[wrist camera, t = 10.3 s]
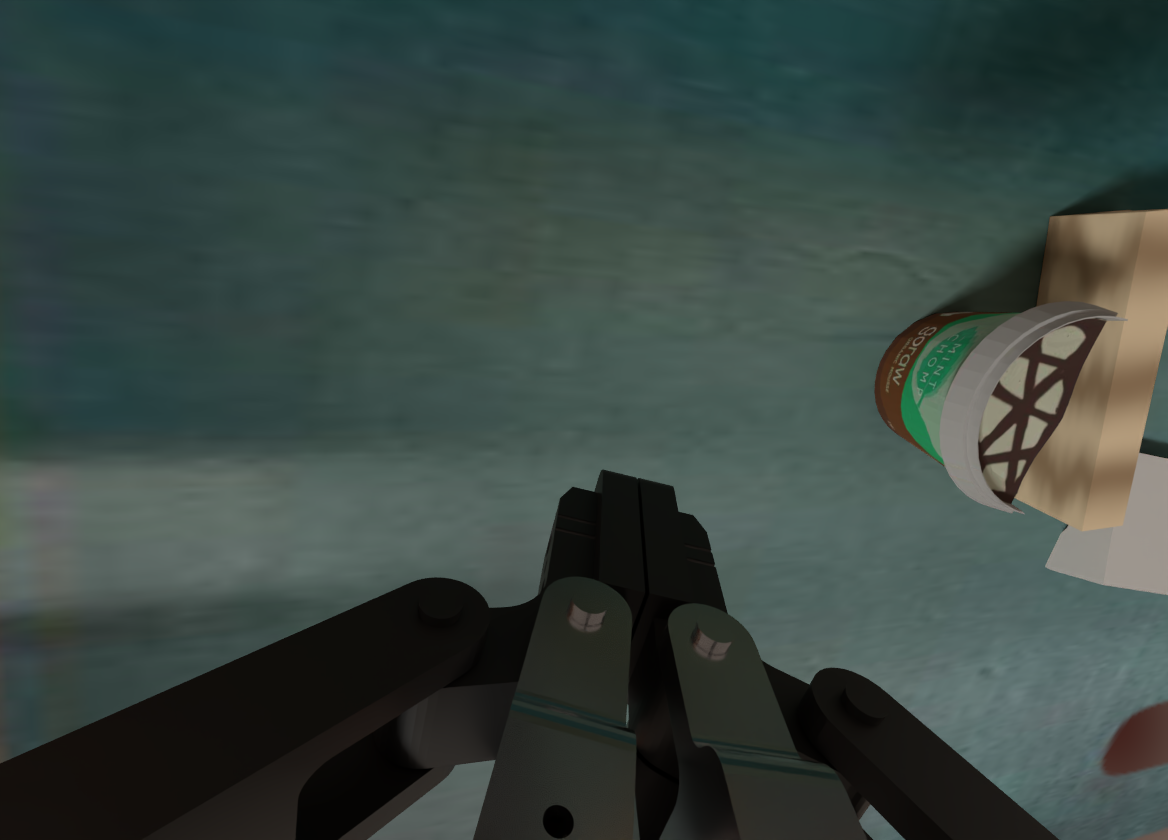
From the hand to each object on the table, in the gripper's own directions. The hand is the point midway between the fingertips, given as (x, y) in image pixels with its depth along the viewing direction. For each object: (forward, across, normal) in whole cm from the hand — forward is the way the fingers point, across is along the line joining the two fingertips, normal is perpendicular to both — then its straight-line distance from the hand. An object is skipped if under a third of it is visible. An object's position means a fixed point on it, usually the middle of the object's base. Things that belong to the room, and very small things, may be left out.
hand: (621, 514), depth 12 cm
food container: (+29, -21, +1) cm, 35 cm away
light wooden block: (+30, -31, -1) cm, 44 cm away
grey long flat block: (+33, -56, +9) cm, 66 cm away
